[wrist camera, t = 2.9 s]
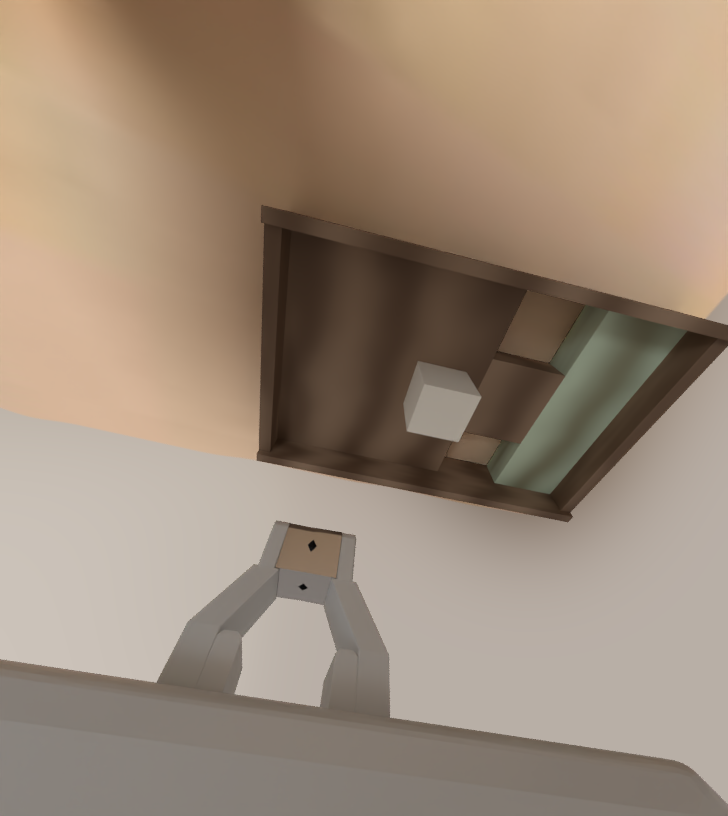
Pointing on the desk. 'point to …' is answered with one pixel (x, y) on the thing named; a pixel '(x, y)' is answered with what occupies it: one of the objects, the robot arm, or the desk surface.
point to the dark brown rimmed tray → (457, 349)
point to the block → (439, 402)
